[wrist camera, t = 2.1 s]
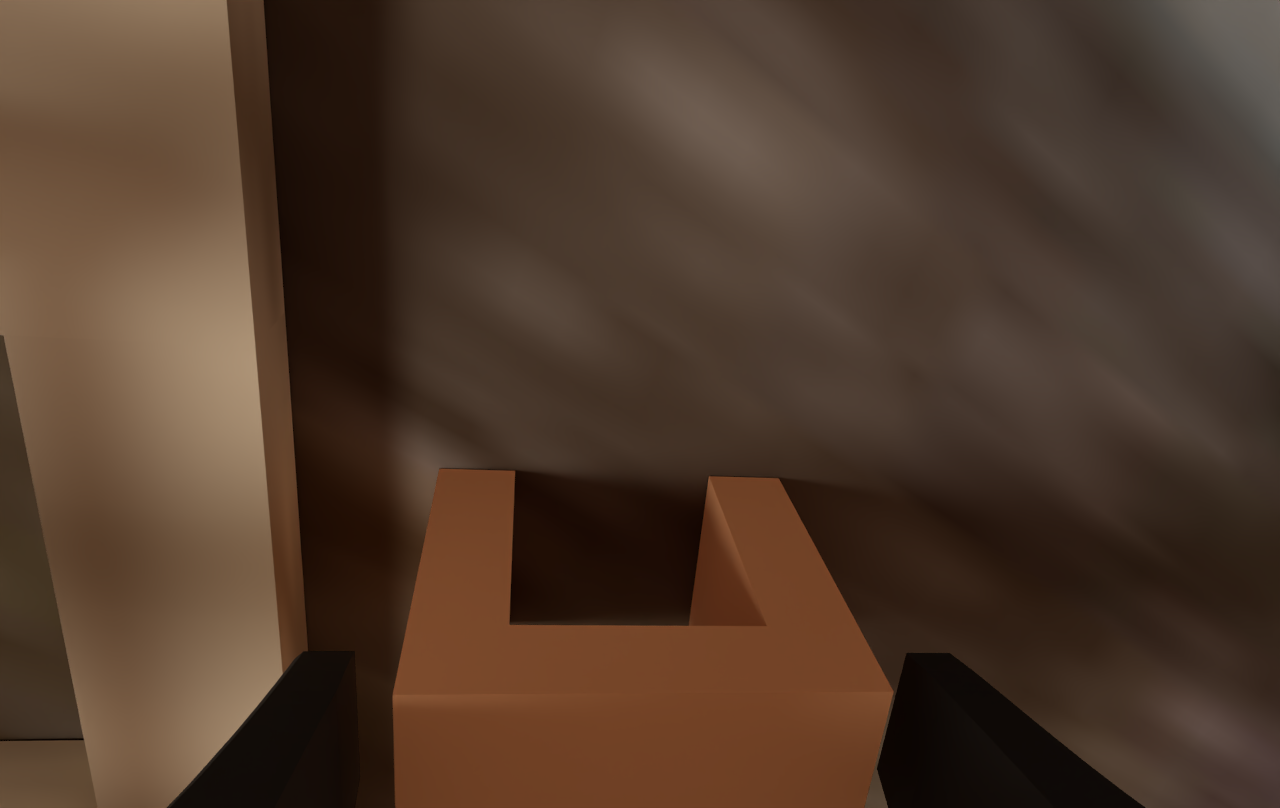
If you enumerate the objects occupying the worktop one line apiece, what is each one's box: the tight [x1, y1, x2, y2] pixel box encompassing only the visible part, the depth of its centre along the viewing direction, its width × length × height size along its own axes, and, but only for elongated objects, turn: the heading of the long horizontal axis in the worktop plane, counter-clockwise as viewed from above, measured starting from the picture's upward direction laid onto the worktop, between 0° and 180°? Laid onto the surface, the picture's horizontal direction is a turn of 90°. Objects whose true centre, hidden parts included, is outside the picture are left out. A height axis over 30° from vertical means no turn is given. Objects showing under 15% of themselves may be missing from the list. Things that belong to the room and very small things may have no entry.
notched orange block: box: [393, 469, 893, 808], centre depth 13 cm, size 3×6×5 cm, turn 85°
